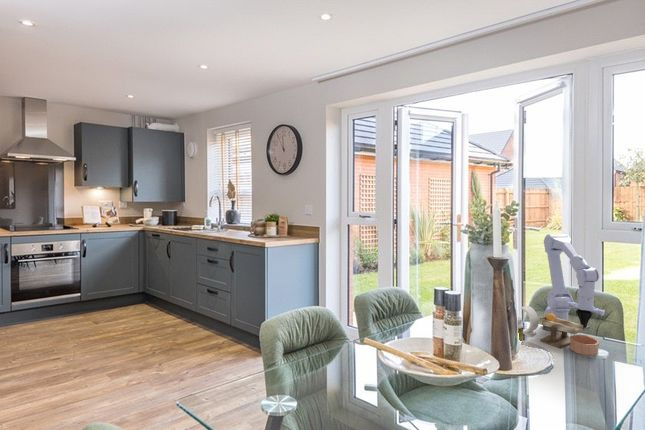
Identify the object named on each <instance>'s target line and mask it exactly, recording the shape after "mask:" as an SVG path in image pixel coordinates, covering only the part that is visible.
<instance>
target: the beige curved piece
mask: <svg viewBox="0 0 645 430" xmlns="http://www.w3.org/2000/svg"><path fill="white" fill-rule="evenodd" d="M544 315H545V314H544ZM544 315H542V316H540V317H539V323H541V325H542V330H543V331H546V332H549V333H550V332H551V326H554V327H557V331H558V330H561V331H564V332H567V334H571V335H578V334H579V333H581V332H585V331H588V330H590V329H591V326H590V325H587V327H585V328H584V327H583V325H581V323H577V322H575V321H574V322H573V321H570V320H568V321H567V320H563V319H560V318H556V320H555V321H554V322H552V321H548V320H546V315H545V316H544ZM561 331H560V332H561Z"/></svg>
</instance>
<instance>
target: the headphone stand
mask: <svg viewBox="0 0 645 430" xmlns="http://www.w3.org/2000/svg"><path fill="white" fill-rule="evenodd" d="M520 309H521V310H522V311H524V312H525V313H526V315H527V316H528V319H529V327H528V328H526V329H525V328H523V335H525V336H527V337H531V336H535V335H537V332H536V330H537V329H538V328H539V327H538V326H539V323H540V318H539V316H538V313H537V312H536V310H535V309H534V308H533V307H531V306H530V305H525V306H521V307H520Z"/></svg>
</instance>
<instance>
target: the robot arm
mask: <svg viewBox="0 0 645 430" xmlns="http://www.w3.org/2000/svg"><path fill="white" fill-rule="evenodd" d="M543 245H544V252H545V253H546V254H547V261H548V267H549V275H550V281H551V286H552V287H551V288H552V289H550V291H548V293H547V300H546V302H547V303H546V304H547V307H546V308H545V310H544V315H543V316H545V315H547V314H548V313H552V314H554V315H555V317H556V318H560V319H563V320H567V321H569V312H570V311H571V309H573V308H574V309H577V310H576V311H575V313H576V315H577V317H578V320H579V324H581V325H583V327H584V328H585V327H587V326H588V323H589V320H591V318H592V316H593V315H594V314H596V315H599V316H601V317H603V316H605V312H606V311H605V310H604V309H600V308H598V307H595V306H594V301H595V300H594V299H595V286H596V285H595V284H596V282H598V280H599V277H600V276H599V275H600V274H599V271H598V270H597V269H596V267H592V266H590V265H589V263H588V262H587V261H586V260H585V258H584V257H583V256H582V255H578V253H577V252H576V249H575V248H574V247H573V245H572V239H571V237H570V236H569V234H567V233H565V234H546V235H545V236H544V239H543ZM562 253H564V254H565V256H567V258H568V259H569V264H570V266H571V267H572V269H573V270H574V271H575V272H576V274H575V275H576V279H577V285H578V292H577V293H578V294H577V302H574V299H573V296H572V292H571V291H570V290H568V289H567V288H566V286H565V281H564V274H563V266H562V261H561V254H562ZM558 331H559V332H562V331H561V330H557V332H558Z"/></svg>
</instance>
